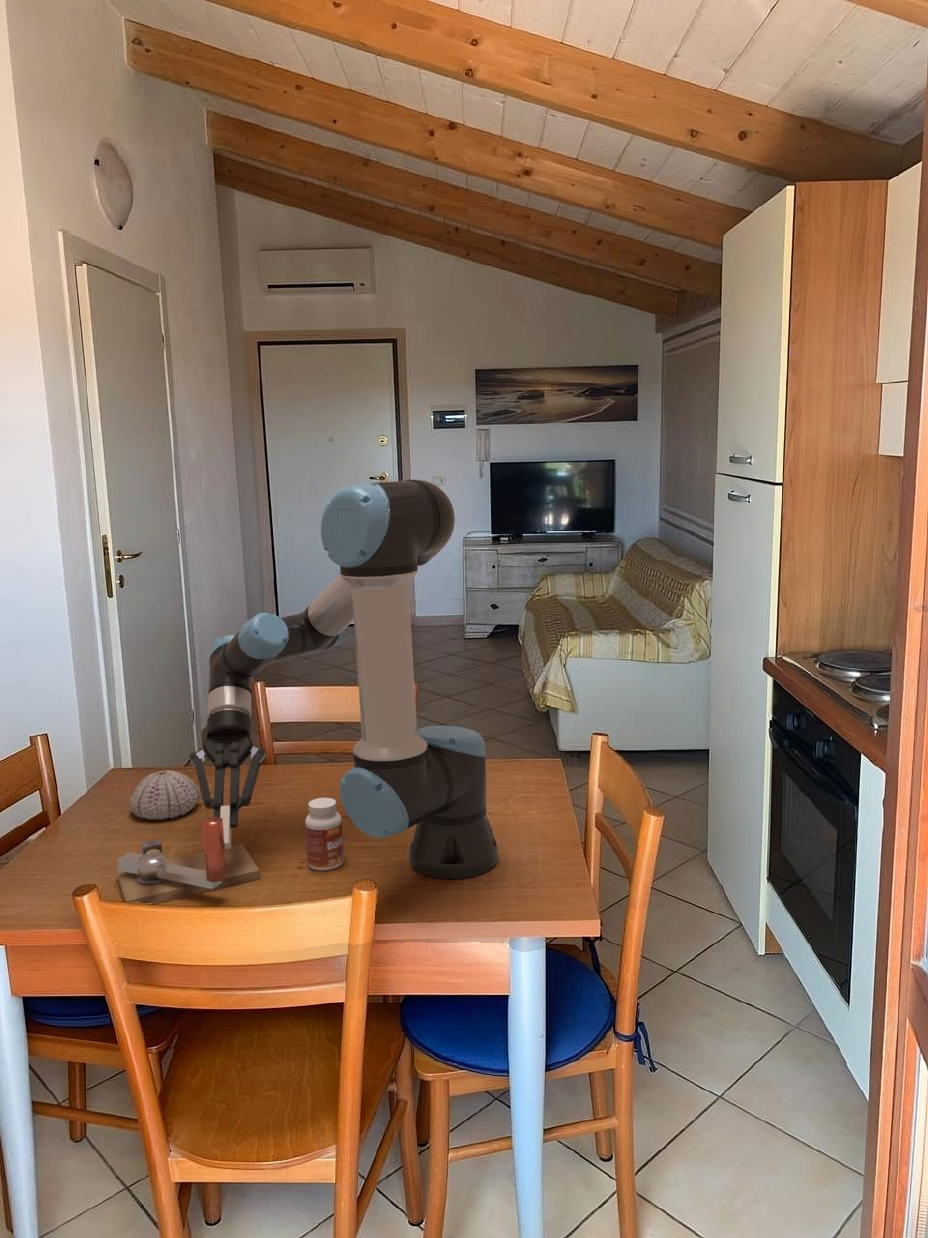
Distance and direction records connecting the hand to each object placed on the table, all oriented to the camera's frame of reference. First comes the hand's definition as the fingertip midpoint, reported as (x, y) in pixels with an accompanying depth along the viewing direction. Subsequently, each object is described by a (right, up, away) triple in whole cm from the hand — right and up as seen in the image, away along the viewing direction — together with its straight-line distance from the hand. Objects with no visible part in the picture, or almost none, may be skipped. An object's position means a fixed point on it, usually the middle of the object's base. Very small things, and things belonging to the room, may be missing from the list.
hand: (225, 846), depth 153 cm
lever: (-8, -5, -1) cm, 9 cm away
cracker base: (-8, -6, +5) cm, 11 cm away
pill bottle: (+15, -5, +8) cm, 18 cm away
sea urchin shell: (-20, -1, +33) cm, 39 cm away
